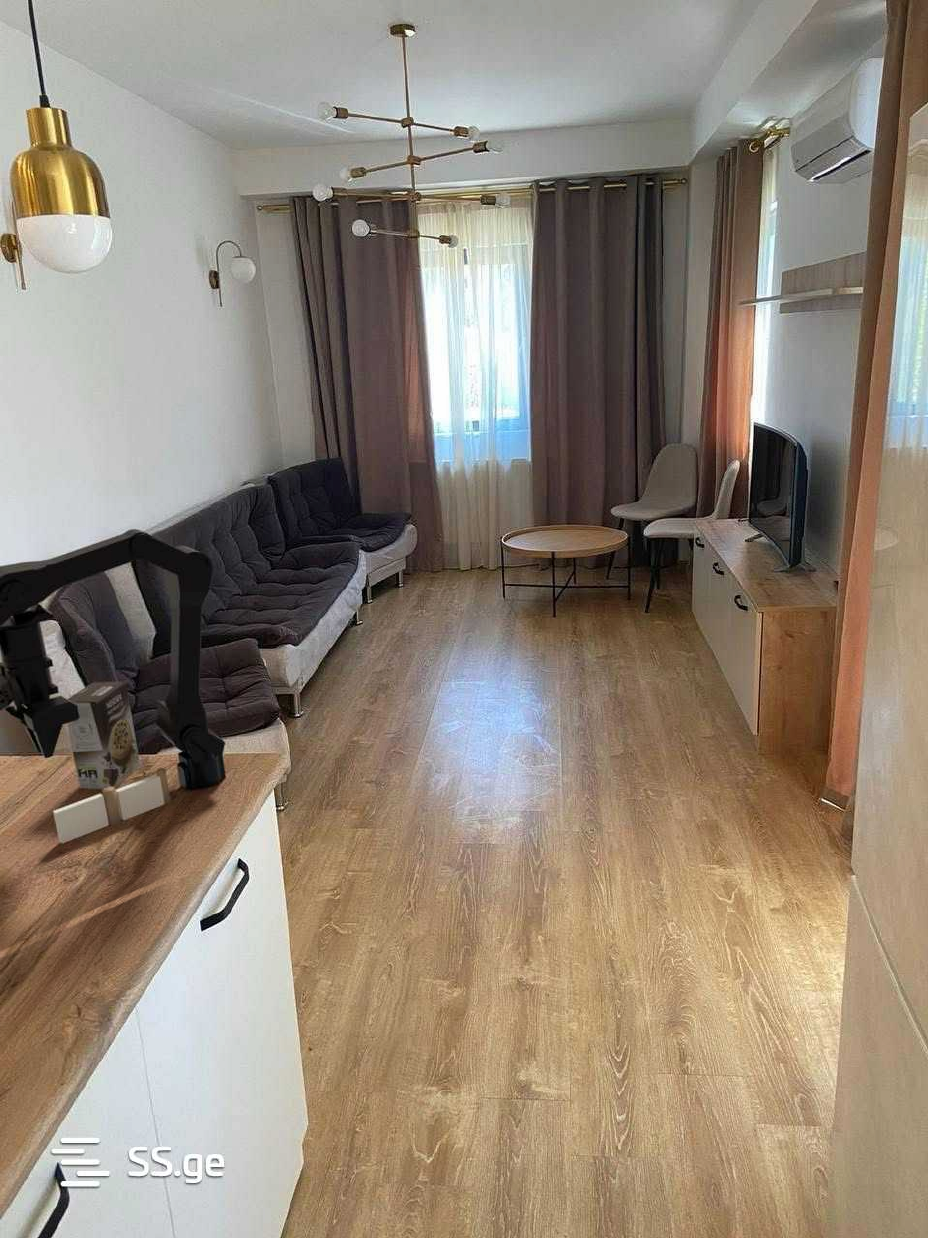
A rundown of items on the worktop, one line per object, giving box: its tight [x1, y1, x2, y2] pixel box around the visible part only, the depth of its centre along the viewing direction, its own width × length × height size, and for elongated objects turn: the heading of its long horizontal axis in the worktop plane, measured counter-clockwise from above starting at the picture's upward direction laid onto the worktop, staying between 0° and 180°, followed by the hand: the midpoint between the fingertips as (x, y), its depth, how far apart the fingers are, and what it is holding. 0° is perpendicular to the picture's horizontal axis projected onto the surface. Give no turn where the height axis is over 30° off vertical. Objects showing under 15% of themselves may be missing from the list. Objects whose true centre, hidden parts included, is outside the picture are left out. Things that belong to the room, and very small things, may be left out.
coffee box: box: [66, 681, 141, 790], centre depth 152 cm, size 9×6×16 cm
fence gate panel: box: [52, 793, 110, 844], centre depth 136 cm, size 7×1×5 cm, turn 133°
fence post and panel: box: [101, 767, 172, 826], centre depth 141 cm, size 10×2×6 cm, turn 133°
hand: (45, 754), depth 135 cm, fingers open, 3 cm apart
